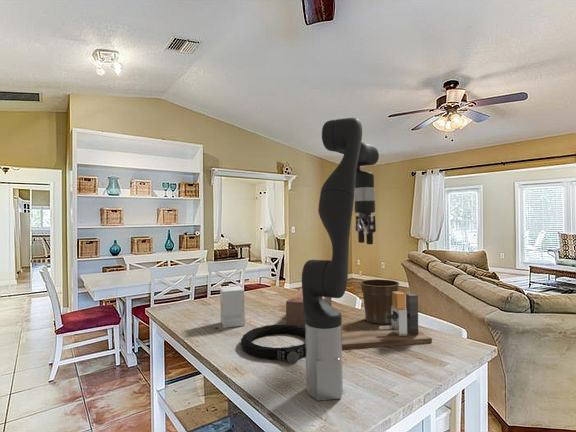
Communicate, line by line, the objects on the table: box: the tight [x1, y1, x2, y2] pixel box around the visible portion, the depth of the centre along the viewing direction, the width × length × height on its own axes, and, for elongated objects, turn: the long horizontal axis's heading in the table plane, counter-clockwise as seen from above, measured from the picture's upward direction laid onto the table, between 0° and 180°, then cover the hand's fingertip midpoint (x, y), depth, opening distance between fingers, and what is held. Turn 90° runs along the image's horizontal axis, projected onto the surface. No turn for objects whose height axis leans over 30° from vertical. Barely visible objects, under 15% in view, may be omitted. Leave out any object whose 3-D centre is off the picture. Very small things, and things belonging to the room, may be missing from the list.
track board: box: [342, 293, 433, 350], centre depth 124 cm, size 12×34×16 cm, turn 98°
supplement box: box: [219, 285, 246, 329], centre depth 145 cm, size 9×9×15 cm
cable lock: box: [240, 324, 306, 364], centre depth 120 cm, size 28×4×30 cm
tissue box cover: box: [285, 288, 333, 327], centre depth 153 cm, size 26×14×10 cm, turn 163°
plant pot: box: [359, 279, 400, 325], centre depth 147 cm, size 16×16×16 cm
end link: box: [377, 290, 407, 336], centre depth 124 cm, size 6×9×15 cm, turn 98°
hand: (365, 243), depth 129 cm, fingers open, 8 cm apart
